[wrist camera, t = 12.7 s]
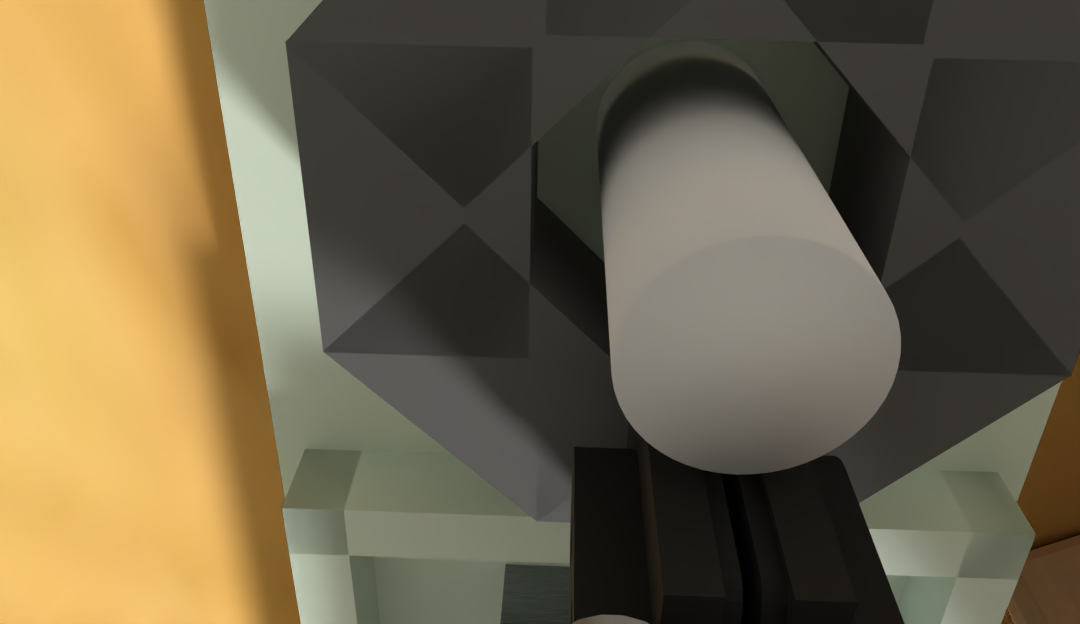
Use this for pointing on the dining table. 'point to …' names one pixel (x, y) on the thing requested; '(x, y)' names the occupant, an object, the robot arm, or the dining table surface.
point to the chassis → (620, 335)
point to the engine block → (535, 594)
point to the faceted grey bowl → (579, 274)
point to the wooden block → (1049, 585)
